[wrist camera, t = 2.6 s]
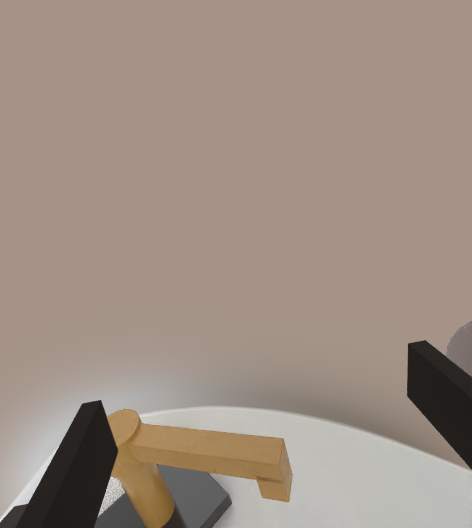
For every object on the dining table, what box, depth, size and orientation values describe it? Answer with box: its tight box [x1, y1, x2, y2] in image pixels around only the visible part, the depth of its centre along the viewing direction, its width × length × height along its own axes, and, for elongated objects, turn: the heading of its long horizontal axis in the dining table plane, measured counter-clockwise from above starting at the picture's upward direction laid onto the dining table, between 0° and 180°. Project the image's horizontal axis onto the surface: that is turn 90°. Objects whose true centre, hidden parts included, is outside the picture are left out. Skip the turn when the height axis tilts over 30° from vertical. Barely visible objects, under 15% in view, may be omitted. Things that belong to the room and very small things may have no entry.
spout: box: [107, 409, 293, 502], centre depth 27 cm, size 18×4×5 cm, turn 73°
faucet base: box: [94, 462, 232, 528], centre depth 32 cm, size 12×10×10 cm
